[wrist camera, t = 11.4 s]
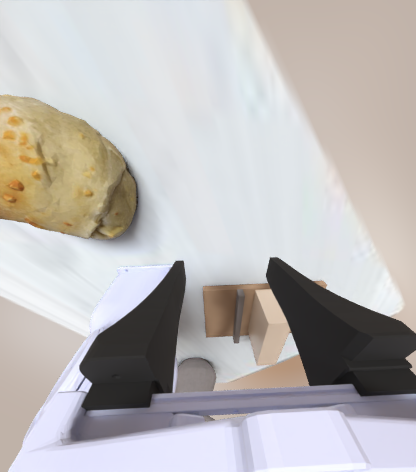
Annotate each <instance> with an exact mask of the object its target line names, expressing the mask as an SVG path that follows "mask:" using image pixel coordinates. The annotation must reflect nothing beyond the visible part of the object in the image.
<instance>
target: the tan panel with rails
mask: <svg viewBox="0 0 416 472" xmlns="http://www.w3.org/2000/svg"><path fill="white" fill-rule="evenodd" d="M313 282H315V283H316V284H318V285H320V286H321V287H323V288H326V286H327V284H326V283H325V282H324V281H313ZM263 289H271V288H270V286H269V284H268V283H266V284H245V285H224V286H203V298H204V312H205V327H206V337H223V336H233V340H234V343H239V337H240V336H242V335H249V333H248V328H249V322H250V317H251V311H252V305H253V300H254V294H255V290H263ZM289 333H291V330H290V332H289Z"/></svg>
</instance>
